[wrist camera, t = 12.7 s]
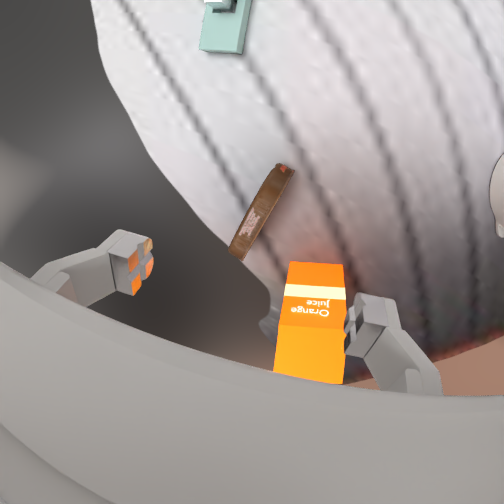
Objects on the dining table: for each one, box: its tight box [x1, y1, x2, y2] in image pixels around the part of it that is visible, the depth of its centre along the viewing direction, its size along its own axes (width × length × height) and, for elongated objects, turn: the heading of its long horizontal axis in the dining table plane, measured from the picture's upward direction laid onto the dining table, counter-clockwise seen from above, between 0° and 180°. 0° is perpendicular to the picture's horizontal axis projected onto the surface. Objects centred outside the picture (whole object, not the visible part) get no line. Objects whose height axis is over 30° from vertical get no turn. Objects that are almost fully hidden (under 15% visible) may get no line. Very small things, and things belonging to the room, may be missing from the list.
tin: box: [228, 163, 294, 261], centre depth 39 cm, size 15×3×8 cm, turn 154°
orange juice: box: [273, 261, 346, 384], centre depth 40 cm, size 8×9×20 cm
